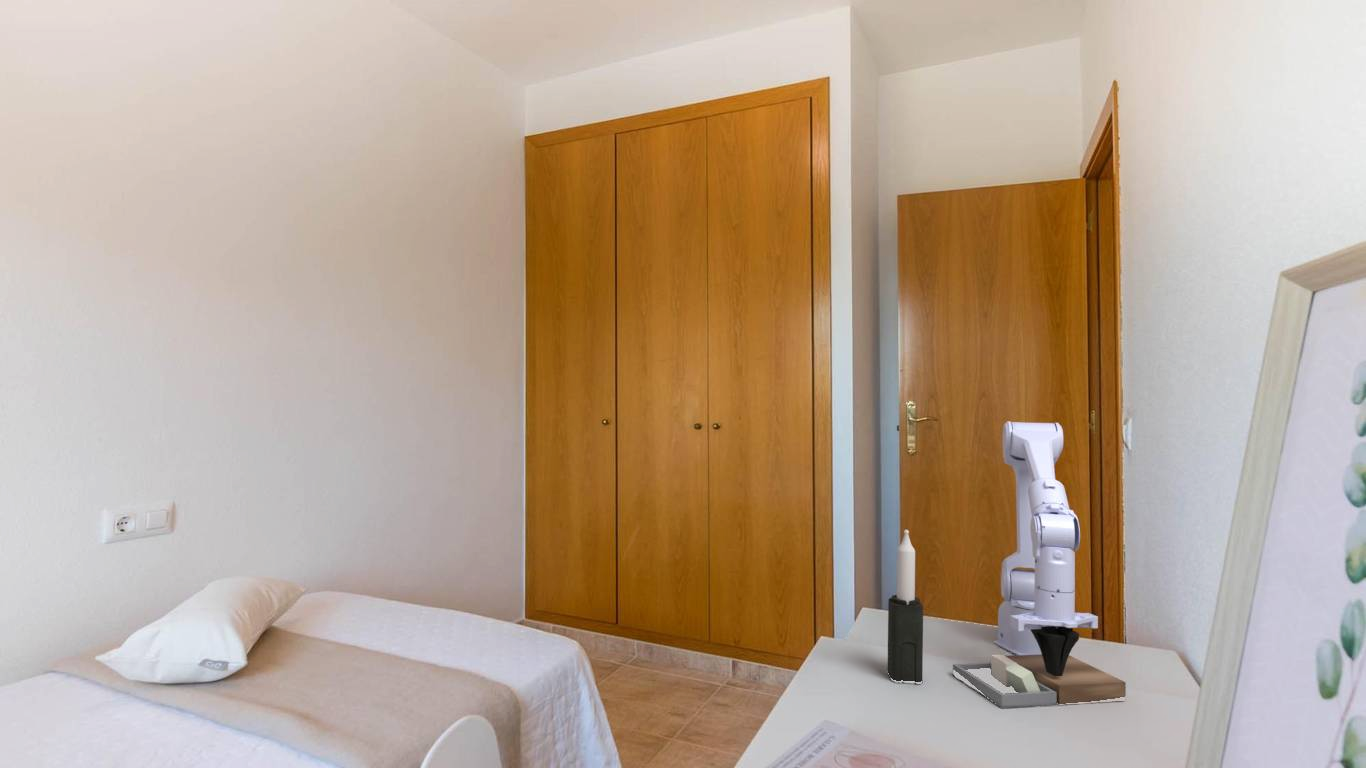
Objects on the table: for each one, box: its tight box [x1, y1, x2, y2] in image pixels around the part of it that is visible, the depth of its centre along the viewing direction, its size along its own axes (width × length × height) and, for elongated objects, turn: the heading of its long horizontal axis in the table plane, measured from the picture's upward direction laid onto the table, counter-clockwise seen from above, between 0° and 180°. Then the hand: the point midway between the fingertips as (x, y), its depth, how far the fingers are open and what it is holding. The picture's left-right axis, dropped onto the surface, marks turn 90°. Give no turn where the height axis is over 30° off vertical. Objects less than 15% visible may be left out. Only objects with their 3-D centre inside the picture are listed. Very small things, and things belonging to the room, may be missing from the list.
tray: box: [952, 661, 1058, 709], centre depth 110 cm, size 13×10×2 cm
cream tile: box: [990, 654, 1017, 687], centre depth 112 cm, size 4×4×2 cm
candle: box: [887, 529, 924, 682], centre depth 114 cm, size 5×5×25 cm
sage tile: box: [1005, 663, 1040, 693], centre depth 107 cm, size 4×4×2 cm
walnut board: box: [1005, 654, 1127, 705], centre depth 112 cm, size 13×12×3 cm
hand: (1054, 673), depth 108 cm, fingers closed
